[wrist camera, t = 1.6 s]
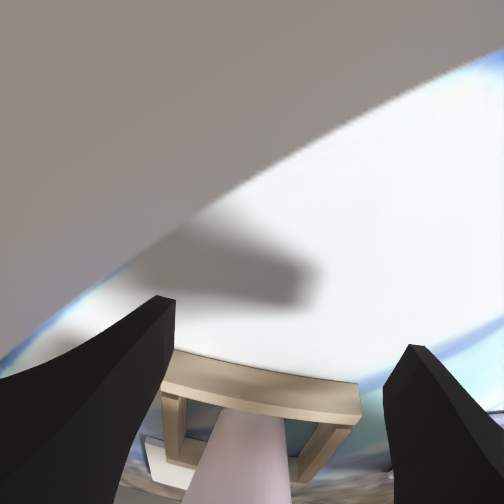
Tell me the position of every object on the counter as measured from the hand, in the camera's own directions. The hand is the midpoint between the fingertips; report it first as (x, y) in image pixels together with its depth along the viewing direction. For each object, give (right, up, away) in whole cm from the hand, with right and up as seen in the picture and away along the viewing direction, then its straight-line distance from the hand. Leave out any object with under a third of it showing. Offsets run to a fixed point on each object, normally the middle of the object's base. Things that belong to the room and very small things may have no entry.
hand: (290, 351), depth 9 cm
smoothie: (-1, -6, +7) cm, 10 cm away
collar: (-1, -7, +7) cm, 10 cm away
